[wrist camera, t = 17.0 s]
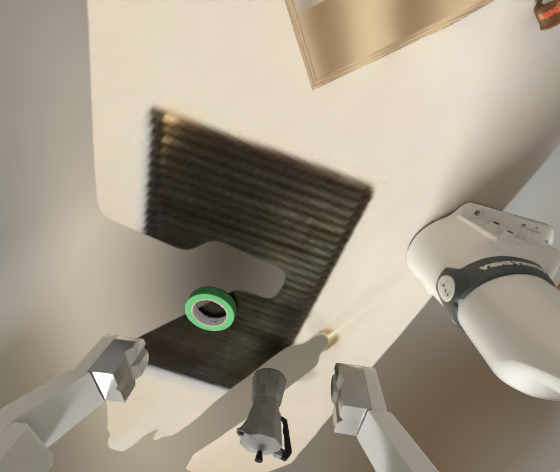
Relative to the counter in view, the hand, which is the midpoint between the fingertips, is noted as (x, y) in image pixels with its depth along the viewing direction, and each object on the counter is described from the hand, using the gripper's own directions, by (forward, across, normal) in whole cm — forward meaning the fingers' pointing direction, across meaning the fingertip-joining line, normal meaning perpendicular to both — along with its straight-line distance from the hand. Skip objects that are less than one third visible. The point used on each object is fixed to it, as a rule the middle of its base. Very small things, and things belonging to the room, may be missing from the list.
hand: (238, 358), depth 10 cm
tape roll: (+35, +15, +32) cm, 50 cm away
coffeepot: (+34, 0, +57) cm, 67 cm away
